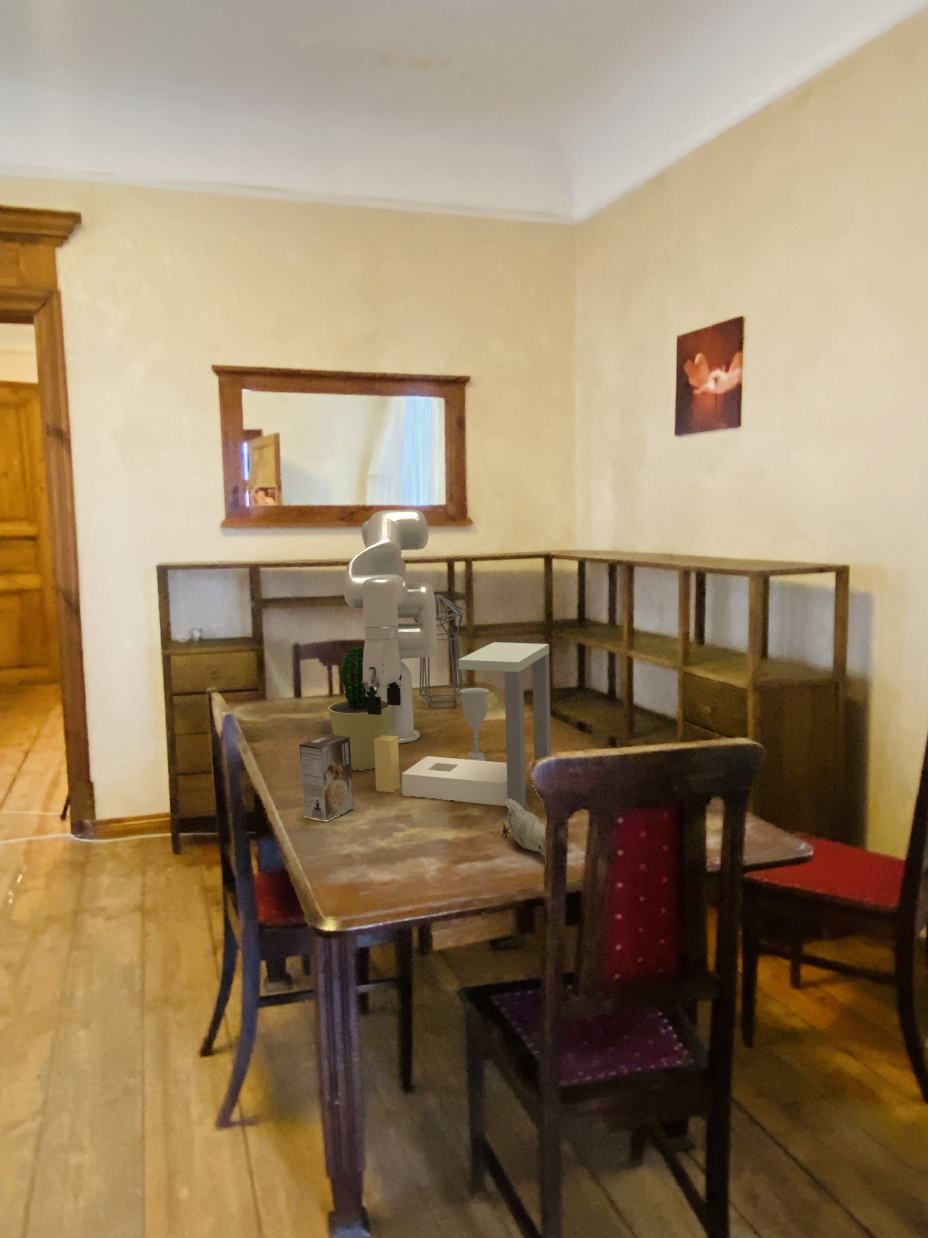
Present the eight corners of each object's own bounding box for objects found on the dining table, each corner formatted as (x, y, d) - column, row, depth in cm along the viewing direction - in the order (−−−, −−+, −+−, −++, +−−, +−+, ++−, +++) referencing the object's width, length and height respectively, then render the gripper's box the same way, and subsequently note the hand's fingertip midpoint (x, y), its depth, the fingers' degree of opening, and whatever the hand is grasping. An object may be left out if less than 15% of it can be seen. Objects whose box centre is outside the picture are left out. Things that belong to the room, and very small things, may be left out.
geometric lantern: (466, 710, 279) (463, 596, 274) (415, 711, 280) (410, 598, 275) (467, 698, 295) (463, 591, 290) (418, 700, 295) (414, 592, 290)
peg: (376, 791, 206) (373, 739, 204) (384, 785, 210) (381, 735, 208) (392, 792, 205) (390, 740, 203) (399, 787, 208) (397, 736, 207)
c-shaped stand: (463, 808, 193) (458, 659, 189) (497, 777, 213) (494, 642, 209) (521, 814, 188) (518, 662, 184) (551, 782, 209) (548, 644, 204)
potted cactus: (319, 770, 223) (313, 649, 219) (348, 753, 237) (343, 639, 233) (376, 775, 218) (371, 651, 213) (403, 757, 232) (398, 640, 228)
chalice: (494, 759, 228) (492, 688, 225) (486, 767, 221) (484, 694, 219) (466, 757, 230) (464, 687, 228) (458, 765, 224) (455, 693, 221)
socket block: (402, 795, 203) (401, 773, 202) (427, 776, 215) (427, 756, 215) (505, 806, 194) (504, 783, 193) (525, 785, 207) (524, 764, 206)
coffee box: (331, 805, 198) (327, 732, 196) (354, 809, 195) (351, 736, 192) (302, 818, 190) (298, 743, 188) (326, 823, 187) (322, 747, 185)
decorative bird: (538, 867, 162) (537, 827, 161) (497, 838, 177) (496, 800, 176) (564, 861, 165) (563, 821, 164) (521, 833, 179) (521, 796, 178)
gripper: (383, 628, 211) (386, 700, 214) (347, 638, 196) (351, 717, 198) (413, 628, 209) (415, 702, 211) (379, 639, 193) (382, 719, 195)
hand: (384, 709), depth 204 cm, fingers open, 9 cm apart
